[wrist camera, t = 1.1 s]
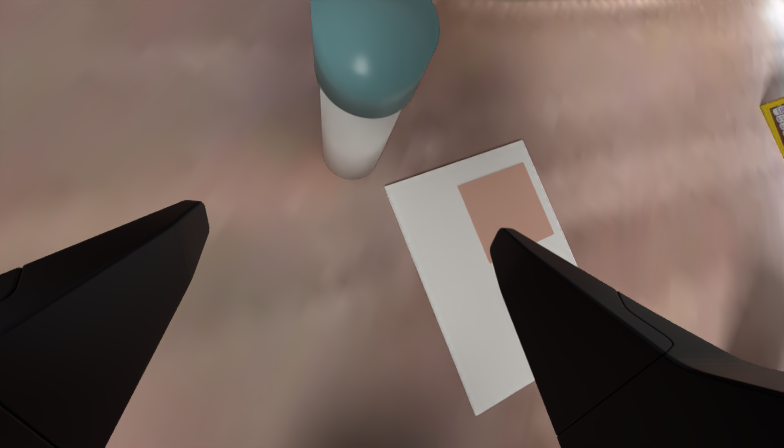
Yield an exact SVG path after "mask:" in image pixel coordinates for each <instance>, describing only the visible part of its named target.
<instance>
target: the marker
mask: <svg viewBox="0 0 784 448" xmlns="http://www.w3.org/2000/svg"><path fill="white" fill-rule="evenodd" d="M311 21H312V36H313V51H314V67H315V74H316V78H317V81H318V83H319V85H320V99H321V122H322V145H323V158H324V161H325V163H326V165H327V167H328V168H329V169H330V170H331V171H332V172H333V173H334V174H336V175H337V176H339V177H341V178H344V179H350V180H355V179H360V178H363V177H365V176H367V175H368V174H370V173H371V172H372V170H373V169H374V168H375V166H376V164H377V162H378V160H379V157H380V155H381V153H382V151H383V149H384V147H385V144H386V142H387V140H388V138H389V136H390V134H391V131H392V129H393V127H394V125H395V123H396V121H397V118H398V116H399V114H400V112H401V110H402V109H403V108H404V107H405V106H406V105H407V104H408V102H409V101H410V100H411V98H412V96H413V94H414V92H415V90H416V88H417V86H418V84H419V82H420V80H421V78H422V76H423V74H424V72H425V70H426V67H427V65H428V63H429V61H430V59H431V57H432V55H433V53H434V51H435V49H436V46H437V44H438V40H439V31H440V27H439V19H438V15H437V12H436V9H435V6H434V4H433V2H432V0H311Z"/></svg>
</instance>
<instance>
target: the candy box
mask: <svg viewBox="0 0 784 448" xmlns="http://www.w3.org/2000/svg"><path fill="white" fill-rule="evenodd" d="M760 108H761V110H762V112H763V115H764V117H765V119H766V121H767V123H768V125H769V128H770V130H771V132H772V134H773V136H774V138H775V141H776V143H777V145H778V147H779V149H780V151H781V154H782V156H783V158H784V97H782V98H779V99H776V100H773V101H771V102H768V103H766V104H763V105H761V106H760Z"/></svg>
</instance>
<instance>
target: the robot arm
mask: <svg viewBox="0 0 784 448" xmlns="http://www.w3.org/2000/svg"><path fill="white" fill-rule="evenodd" d="M208 234H209V223H208V218H207V214H206V209H205V205H204V204H203V203H202V202H201V201H192V200H184V201H181V202H179V203H176V204H174V205H172V206H169V207H167V208H164V209H162V210H159V211H157V212H154V213H152V214H149V215H147V216H144V217H142V218H139V219H137V220H134V221H132V222H130V223H127V224H125V225H122V226H120V227H117V228H115V229H112V230H110V231H107V232H105V233H102V234H100V235H97V236H95V237H92V238H90V239H88V240H85V241H83V242H80V243H78V244H75V245H73V246H70V247H68V248H65V249H63V250H60V251H58V252H55V253H53V254H50V255H48V256H45V257H43V258H41V259H38V260H36V261H33V262H31V263H28V264H26V265H24V266H23V268H16V269H13V270H11V271H8V272H6V273H3V274H1V275H0V448H105V447H106V445H107V443H108V441H109V439H110V437H111V435H112V433H113V431H114V429H115V427H116V425H117V424H118V422H119V420H120V418H121V416H122V414H123V412H124V410H125V408H126V406H127V404H128V402H129V400H130V398H131V396H132V395H133V393H134V391H135V389H136V387H137V385H138V383H139V381H140V379H141V377H142V375H143V373H144V371H145V369H146V368H147V366H148V364H149V362H150V360H151V358H152V356H153V354H154V352H155V350H156V348H157V346H158V344H159V342H160V341H161V339H162V337H163V335H164V333H165V331H166V329H167V327H168V325H169V323H170V321H171V319H172V317H173V315H174V313H175V312H176V310H177V308H178V306H179V304H180V302H181V300H182V298H183V296H184V294H185V292H186V290H187V288H188V286H189V284H190V282H191V280H192V278H193V275H194V273H195V270H196V267H197V264H198V262H199V259H200V256H201V253H202V251H203V248H204V245H205V242H206V240H207V237H208ZM490 255H491V259H492V263H493V267H494V270H495V274H496V278H497V281H498V285H499V288H500V292H501V294H502V297H503V300H504V302H505V305H506V307H507V310H508V313H509V315H510V318H511V320H512V323H513V325H514V328H515V330H516V333H517V336H518V338H519V341H520V343H521V346H522V348H523V351H524V354H525V356H526V359H527V361H528V364H529V366H530V369H531V372H532V374H533V377H534V379H535V382H536V384H537V387H538V389H539V392H540V395H541V397H542V400H543V402H544V405H545V407H546V410H547V413H548V415H549V418H550V420H551V423H552V425H553V428H554V431H555V433H556V435H557V439H558V441H559V444H560V446H561V448H784V372H783V371H777V370H773V369H769V368H765V367H761V366H758V365H755V364H752V363H749V362H747V361H744V360H742V359H740V358H737V357H735V356H733V355H731V354H729V353H727V352H725V351H724V350H722V349H720V348H718V347H716V346H714V345H713V344H711V343H709V342H707V341H705V340H703V339H702V338H700V337H698V336H696V335H694V334H692V333H691V332H689V331H687V330H685V329H683V328H681V327H680V326H678V325H676V324H674V323H672V322H671V321H669V320H667V319H665V318H663V317H662V316H660V315H658V314H656V313H654V312H653V311H651V310H649V309H647V308H646V307H644V306H642V305H641V304H639V303H637V302H635V301H634V300H632V299H630V298H629V297H627V296H625V295H624V294H622V293H620V292H618V291H616V290H615V289H613V288H612V287H610V286H608V285H607V284H605V283H603V282H602V281H600V280H598V279H597V278H595V277H593V276H592V275H590V274H588V273H587V272H585V271H583V270H582V269H580V268H578V267H577V266H575V265H573V264H572V263H570V262H568V261H567V260H565V259H563V258H562V257H560V256H558V255H556V254H555V253H553V252H551V251H550V250H548V249H546V248H545V247H543V246H541V245H540V244H538V243H536V242H535V241H533V240H531V239H530V238H528V237H526V236H525V235H523V234H521V233H520V232H518V231H516V230H515V229H512V228H500V229H499V230H498V231H497V233H496V235H495V237H494V239H493V242H492V244H491V246H490Z"/></svg>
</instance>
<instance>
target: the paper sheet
mask: <svg viewBox="0 0 784 448" xmlns="http://www.w3.org/2000/svg"><path fill="white" fill-rule="evenodd" d="M384 189H385V191H386V194H387V196H388V199H389V201H390V204H391V206H392V209H393V211H394V214H395V216H396V219H397V221H398V224H399V226H400V229H401V231H402V234H403V236H404V239H405V241H406V244H407V246H408V249H409V251H410V254H411V256H412V259H413V261H414V264H415V266H416V269H417V271H418V274H419V276H420V279H421V281H422V284H423V286H424V289H425V291H426V294H427V296H428V299H429V301H430V304H431V306H432V309H433V311H434V314H435V316H436V319H437V321H438V324H439V326H440V329H441V331H442V334H443V336H444V339H445V341H446V344H447V346H448V349H449V351H450V354H451V356H452V359H453V361H454V364H455V366H456V369H457V371H458V374H459V376H460V379H461V382H462V384H463V387H464V389H465V392H466V394H467V397H468V399H469V402H470V404H471V407H472V409H473V412H474V414H475V416H478V415H479V414H481V413H483V412H484V411H486V410H487V409H489V408H491V407H492V406H494V405H495V404H497V403H499V402H500V401H502V400H504V399H505V398H507V397H508V396H510V395H512V394H513V393H515V392H517V391H518V390H520V389H521V388H523V387H525V386H526V385H528V384H530V383H531V382H533V381H534V380H535V379H534V377H533V374H532V372H531V369H530V366H529V364H528V361H527V359H526V356H525V354H524V351H523V348H522V346H521V343H520V341H519V338H518V336H517V333H516V330H515V328H514V325H513V323H512V320H511V318H510V315H509V313H508V310H507V307H506V305H505V302H504V300H503V297H502V294H501V292H500V288H499V285H498V281H497V278H496V274H495V270H494V267H493V263H492V259H491V255H490V246H491V244H492V242H493V239H494V237H495V235H496V233H497V231H498V230H499V229H500V228H512V229H515V230H516V231H518V232H520V233H521V234H523V235H525V236H526V237H528V238H530V239H531V240H533V241H535V242H536V243H538V244H540V245H541V246H543V247H545V248H546V249H548V250H550V251H551V252H553V253H555V254H556V255H558V256H560V257H562V258H563V259H565V260H567V261H568V262H570V263H572V264H573V265H575V266H577V264H576V261H575V259H574V257H573V255H572V252H571V250H570V248H569V245H568V243H567V241H566V239H565V236H564V234H563V232H562V229H561V227H560V225H559V222H558V220H557V218H556V216H555V213H554V211H553V209H552V206H551V204H550V202H549V199H548V197H547V195H546V193H545V190H544V188H543V186H542V183H541V181H540V179H539V177H538V174H537V172H536V170H535V167H534V165H533V163H532V160H531V158H530V156H529V154H528V151H527V149H526V147H525V144H524V142H523V140H520V141H517V142H515V143H512V144H509V145H506V146H503V147H500V148H497V149H494V150H491V151H488V152H485V153H482V154H479V155H476V156H473V157H470V158H467V159H465V160H462V161H459V162H456V163H453V164H450V165H447V166H444V167H441V168H438V169H435V170H432V171H429V172H426V173H423V174H420V175H417V176H415V177H412V178H409V179H406V180H403V181H400V182H397V183H394V184H391V185H388V186H385V187H384ZM577 267H578V266H577Z"/></svg>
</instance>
